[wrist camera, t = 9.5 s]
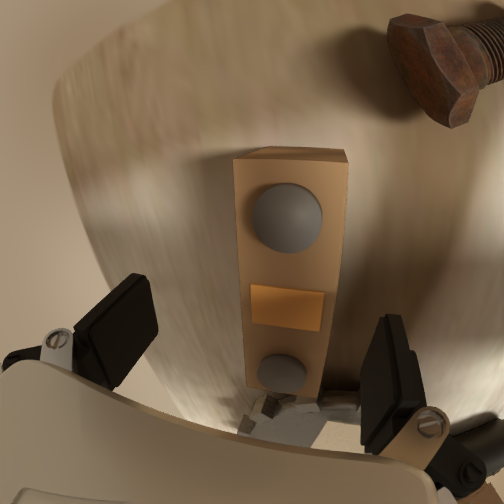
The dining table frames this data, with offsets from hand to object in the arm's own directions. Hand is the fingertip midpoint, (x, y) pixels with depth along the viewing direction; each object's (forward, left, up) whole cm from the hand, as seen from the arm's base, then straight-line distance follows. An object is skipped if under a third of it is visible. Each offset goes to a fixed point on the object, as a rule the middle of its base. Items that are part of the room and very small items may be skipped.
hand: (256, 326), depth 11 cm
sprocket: (-7, +18, -6) cm, 20 cm away
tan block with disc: (-1, 0, -8) cm, 8 cm away
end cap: (-24, +20, -8) cm, 32 cm away
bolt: (-12, -14, -8) cm, 20 cm away
